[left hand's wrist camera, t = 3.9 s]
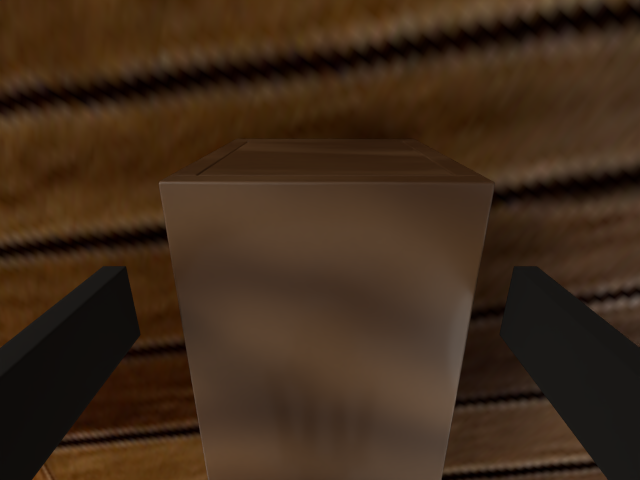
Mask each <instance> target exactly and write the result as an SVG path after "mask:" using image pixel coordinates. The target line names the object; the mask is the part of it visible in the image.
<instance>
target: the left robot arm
mask: <svg viewBox="0 0 640 480" xmlns="http://www.w3.org/2000/svg"><path fill="white" fill-rule="evenodd" d="M139 336H140V330H139V325H138V321H137V316H136V311H135V307H134V302H133V297H132V293H131V288H130V283H129V279H128V274H127V269H126V266H103V267H102V268H101V269H99V270H98V271H97V272H96V273H94V274H93V275H92V276H91V277H89V278H88V279H87V280H85V281H84V282H83V283H82V284H80V285H79V286H78V287H77V288H75V289H74V290H73V291H72V292H70V293H69V294H68V295H67V296H65V297H64V298H63V299H62V300H60V301H59V302H58V303H56V304H55V305H54V306H53V307H51V308H50V309H49V310H48V311H46V312H45V313H44V314H43V315H41V316H40V317H39V318H38V319H36V320H35V321H34V322H32V323H31V324H30V325H29V326H27V327H26V328H25V329H24V330H22V331H21V332H20V333H19V334H17V335H16V336H15V337H14V338H12V339H11V340H10V341H9V342H7V343H6V344H5V345H3V346H2V347H1V348H0V480H32V479H33V478H34V476H35V475H36V474H37V472H38V471H39V470H40V468H41V467H42V466H43V464H44V463H45V462H46V460H47V459H48V458H49V456H50V455H51V454H52V452H53V451H54V450H55V448H56V447H57V446H58V444H59V443H60V442H61V440H62V439H63V437H64V436H65V435H66V433H67V432H68V431H69V429H70V428H71V427H72V425H73V424H74V423H75V421H76V420H77V419H78V417H79V416H80V415H81V413H82V412H83V411H84V409H85V408H86V407H87V405H88V404H89V403H90V401H91V400H92V399H93V397H94V396H95V395H96V393H97V392H98V391H99V389H100V388H101V387H102V385H103V384H104V383H105V381H106V380H107V379H108V377H109V376H110V375H111V373H112V372H113V371H114V369H115V368H116V367H117V365H118V364H119V363H120V361H121V360H122V359H123V357H124V356H125V355H126V353H127V352H128V351H129V349H130V348H131V347H132V345H133V344H134V343H135V341H136V340H137V339H138V337H139ZM500 336H501V337H502V339H503V340H504V341H505V343H506V344H507V345H508V347H509V348H510V349H511V351H512V352H513V353H514V355H515V356H516V357H517V359H518V360H519V361H520V363H521V364H522V365H523V367H524V368H525V369H526V371H527V372H528V373H529V375H530V376H531V377H532V379H533V380H534V381H535V383H536V384H537V385H538V387H539V388H540V389H541V391H542V392H543V393H544V395H545V396H546V397H547V399H548V400H549V401H550V403H551V404H552V405H553V407H554V408H555V409H556V411H557V412H558V413H559V415H560V416H561V417H562V419H563V420H564V421H565V423H566V424H567V425H568V427H569V428H570V429H571V431H572V432H573V433H574V435H575V436H576V437H577V439H578V440H579V442H580V443H581V444H582V446H583V447H584V448H585V450H586V451H587V452H588V454H589V455H590V456H591V458H592V459H593V460H594V462H595V463H596V464H597V466H598V467H599V468H600V470H601V471H602V472H603V474H604V475H605V476H606V478H607V479H608V480H640V347H638V346H637V345H635V344H634V343H633V342H631V341H630V340H629V339H628V338H626V337H625V336H624V335H623V334H621V333H620V332H619V331H618V330H616V329H615V328H614V327H613V326H611V325H610V324H609V323H608V322H606V321H605V320H604V319H602V318H601V317H600V316H599V315H597V314H596V313H595V312H594V311H592V310H591V309H590V308H589V307H587V306H586V305H585V304H584V303H582V302H581V301H580V300H578V299H577V298H576V297H575V296H573V295H572V294H571V293H570V292H568V291H567V290H566V289H565V288H563V287H562V286H561V285H560V284H558V283H557V282H556V281H555V280H553V279H552V278H551V277H549V276H548V275H547V274H546V273H544V272H543V271H542V270H541V269H539V268H538V267H537V266H514V269H513V274H512V279H511V283H510V288H509V293H508V297H507V302H506V307H505V311H504V316H503V321H502V325H501V330H500Z"/></svg>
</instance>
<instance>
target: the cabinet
mask: <svg viewBox="0 0 640 480" xmlns="http://www.w3.org/2000/svg"><path fill="white" fill-rule="evenodd" d="M494 186H495V183H494V182H493V181H491V180H489V179H487V178H485V177H483V176H482V175H480V174H478V173H476V172H474V171H473V170H471V169H469V168H467V167H465V166H463V165H461V164H460V163H458V162H456V161H454V160H452V159H450V158H448V157H446V156H445V155H443V154H441V153H439V152H437V151H435V150H433V149H431V148H430V147H428V146H426V145H424V144H422V143H420V142H418V141H417V140H415V139H235V140H233V141H232V142H230V143H229V144H227V145H225V146H223V147H221V148H219V149H218V150H216V151H214V152H212V153H210V154H209V155H207V156H205V157H203V158H201V159H200V160H198V161H196V162H194V163H192V164H190V165H189V166H187V167H185V168H183V169H181V170H180V171H178V172H176V173H174V174H172V175H171V176H168V177H167V178H165V179H163V180H161V181H159V188H160V194H161V200H162V206H163V212H164V218H165V224H166V230H167V236H168V242H169V248H170V254H171V260H172V266H173V272H174V278H175V284H176V290H177V296H178V302H179V308H180V314H181V320H182V326H183V332H184V338H185V344H186V350H187V356H188V362H189V368H190V374H191V380H192V386H193V392H194V398H195V404H196V409H197V415H198V421H199V427H200V433H201V439H202V445H203V451H204V457H205V463H206V469H207V475H208V480H441V479H442V473H443V468H444V462H445V457H446V451H447V446H448V440H449V435H450V429H451V424H452V418H453V412H454V407H455V401H456V396H457V390H458V385H459V379H460V374H461V368H462V363H463V357H464V352H465V346H466V341H467V335H468V330H469V324H470V319H471V313H472V308H473V302H474V297H475V291H476V285H477V280H478V274H479V269H480V263H481V258H482V252H483V247H484V241H485V236H486V230H487V225H488V219H489V214H490V208H491V203H492V197H493V192H494Z"/></svg>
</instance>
